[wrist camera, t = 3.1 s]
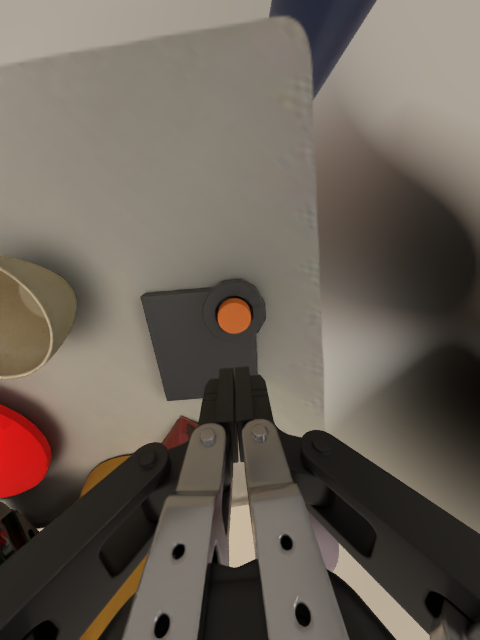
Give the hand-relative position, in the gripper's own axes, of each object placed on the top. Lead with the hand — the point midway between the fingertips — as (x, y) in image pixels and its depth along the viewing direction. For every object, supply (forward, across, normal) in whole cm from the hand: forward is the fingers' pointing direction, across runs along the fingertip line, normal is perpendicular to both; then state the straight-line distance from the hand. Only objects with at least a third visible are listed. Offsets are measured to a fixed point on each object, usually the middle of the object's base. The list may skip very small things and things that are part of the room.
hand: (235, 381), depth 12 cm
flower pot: (+13, +18, -2) cm, 23 cm away
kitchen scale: (+13, +4, +4) cm, 14 cm away
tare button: (+10, 0, 0) cm, 10 cm away
